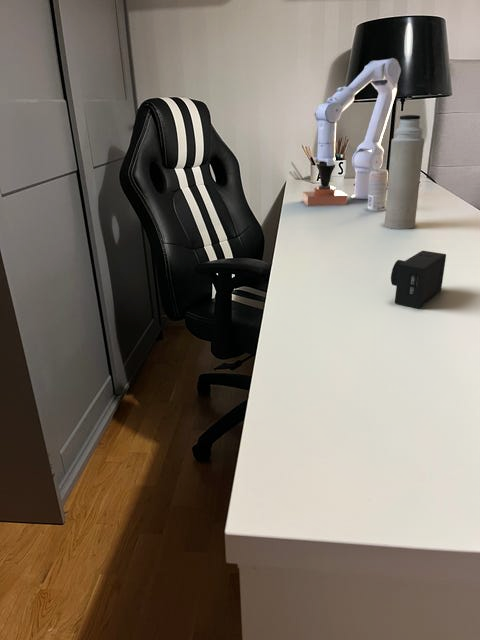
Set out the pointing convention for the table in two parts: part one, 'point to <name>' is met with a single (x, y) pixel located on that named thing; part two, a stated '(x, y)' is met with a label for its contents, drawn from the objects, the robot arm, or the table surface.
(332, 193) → the orange stepped block
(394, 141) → the thermos bottle
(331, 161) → the robot arm
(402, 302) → the digital camera
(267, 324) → the table surface
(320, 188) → the lid button
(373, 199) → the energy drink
